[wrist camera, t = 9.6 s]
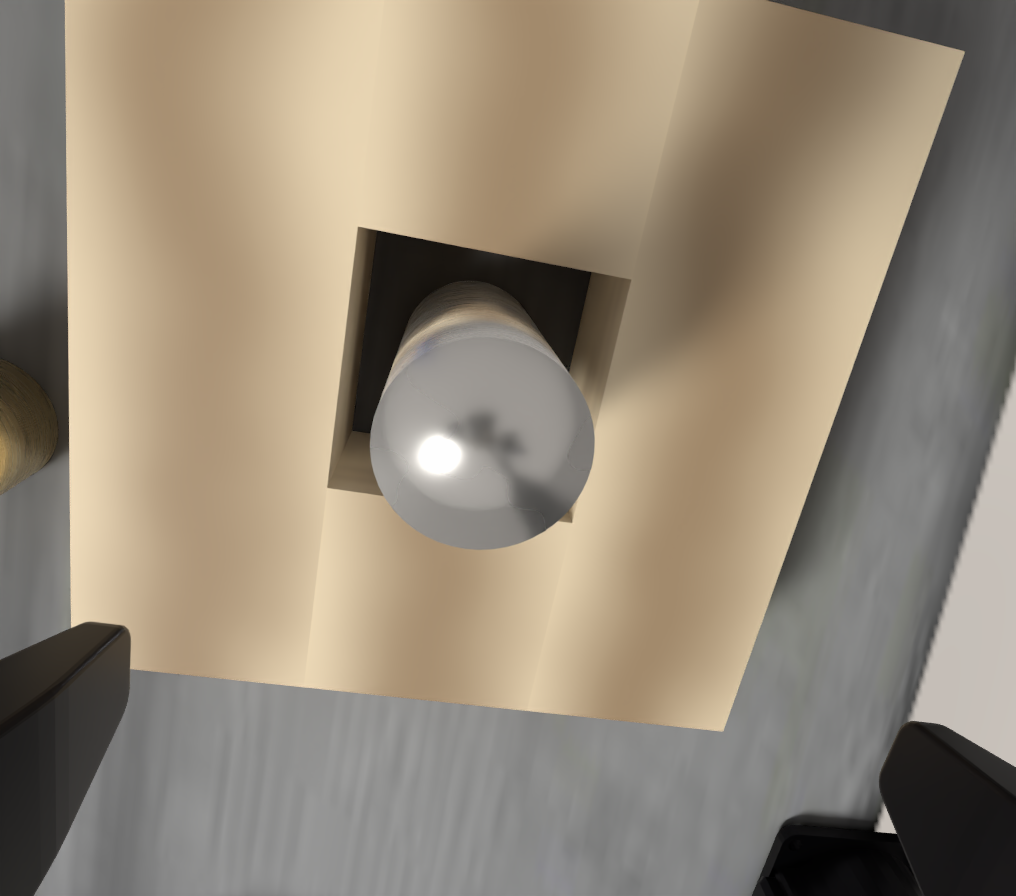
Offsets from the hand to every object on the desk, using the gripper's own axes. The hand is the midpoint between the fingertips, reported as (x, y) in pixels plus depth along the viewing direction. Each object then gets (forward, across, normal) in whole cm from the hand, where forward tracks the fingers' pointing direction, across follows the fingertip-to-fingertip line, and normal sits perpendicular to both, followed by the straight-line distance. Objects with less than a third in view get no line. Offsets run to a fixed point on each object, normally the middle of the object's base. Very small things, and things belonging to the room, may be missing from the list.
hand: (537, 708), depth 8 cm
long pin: (+12, +1, -2) cm, 12 cm away
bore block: (+12, +1, -2) cm, 12 cm away
